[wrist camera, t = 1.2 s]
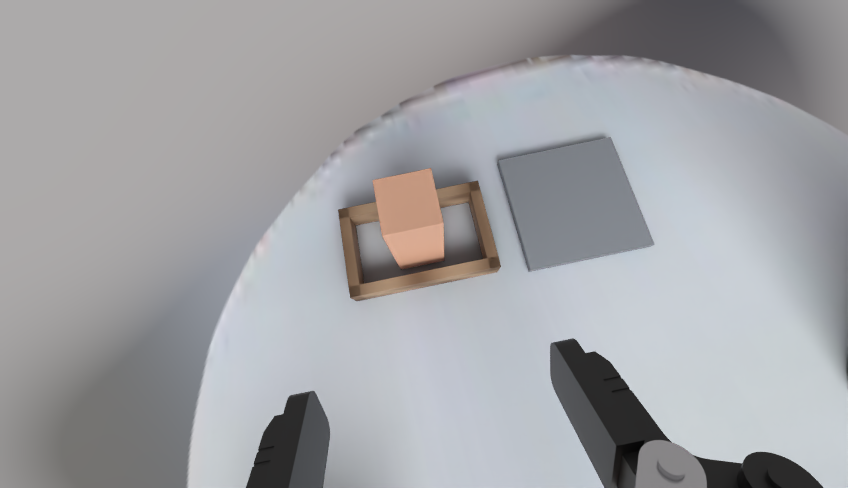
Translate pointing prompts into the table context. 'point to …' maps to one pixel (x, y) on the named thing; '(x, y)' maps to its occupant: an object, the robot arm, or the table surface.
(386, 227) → the terracotta block
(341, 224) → the walnut cradle
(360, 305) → the table surface
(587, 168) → the slate mat
